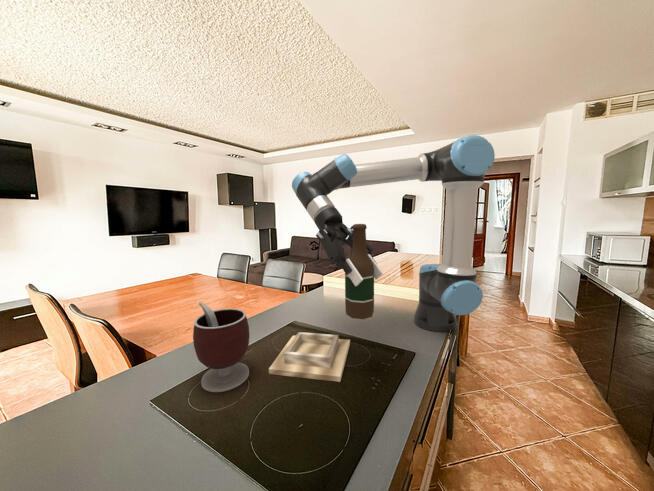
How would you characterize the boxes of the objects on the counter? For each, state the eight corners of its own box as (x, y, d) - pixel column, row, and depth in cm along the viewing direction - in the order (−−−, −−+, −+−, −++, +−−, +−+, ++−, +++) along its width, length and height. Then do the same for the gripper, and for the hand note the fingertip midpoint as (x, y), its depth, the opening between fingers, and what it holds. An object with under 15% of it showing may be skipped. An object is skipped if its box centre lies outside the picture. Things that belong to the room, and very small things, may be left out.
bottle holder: (350, 343, 89) (349, 331, 88) (340, 381, 70) (339, 365, 69) (293, 339, 93) (292, 327, 93) (269, 373, 74) (268, 358, 73)
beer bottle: (355, 306, 77) (355, 223, 74) (379, 312, 72) (380, 223, 69) (339, 315, 71) (338, 224, 68) (364, 322, 66) (364, 225, 63)
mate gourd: (262, 370, 76) (258, 302, 73) (221, 401, 64) (214, 321, 61) (226, 356, 83) (220, 294, 81) (183, 381, 72) (175, 310, 69)
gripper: (342, 222, 86) (384, 279, 77) (291, 226, 73) (334, 297, 63) (355, 205, 82) (401, 264, 72) (302, 206, 68) (350, 279, 58)
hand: (369, 279), depth 68 cm, fingers closed on beer bottle, 7 cm apart
